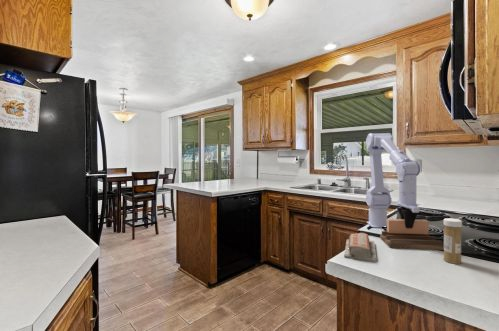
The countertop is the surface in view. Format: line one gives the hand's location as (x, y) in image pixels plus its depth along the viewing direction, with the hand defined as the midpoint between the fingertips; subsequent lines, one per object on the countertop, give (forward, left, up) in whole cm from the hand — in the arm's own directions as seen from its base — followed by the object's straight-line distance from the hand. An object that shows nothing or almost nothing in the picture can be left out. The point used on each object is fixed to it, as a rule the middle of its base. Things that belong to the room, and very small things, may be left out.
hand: (407, 227), depth 100 cm
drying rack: (+2, 0, -6) cm, 6 cm away
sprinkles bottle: (+18, +6, -6) cm, 20 cm away
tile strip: (0, 0, -2) cm, 2 cm away
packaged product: (+12, -20, -6) cm, 24 cm away
